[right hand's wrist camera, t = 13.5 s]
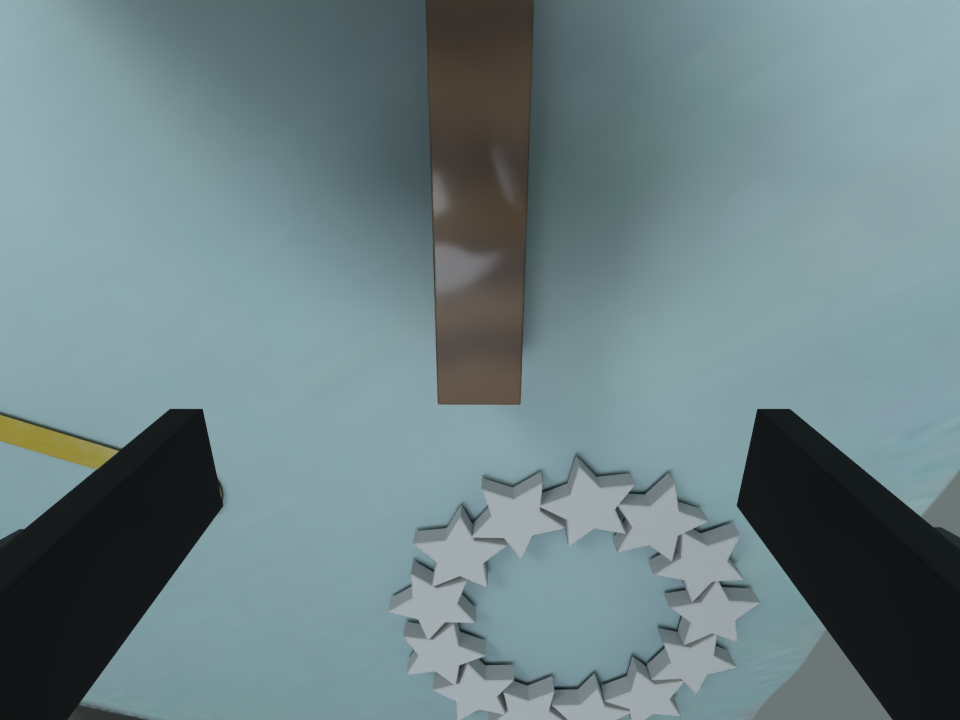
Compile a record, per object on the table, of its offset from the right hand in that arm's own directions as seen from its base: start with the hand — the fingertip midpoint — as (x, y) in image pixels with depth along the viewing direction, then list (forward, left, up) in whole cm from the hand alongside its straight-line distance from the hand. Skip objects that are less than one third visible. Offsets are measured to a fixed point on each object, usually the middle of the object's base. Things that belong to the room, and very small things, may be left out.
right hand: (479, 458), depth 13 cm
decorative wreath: (-19, -23, -23) cm, 38 cm away
